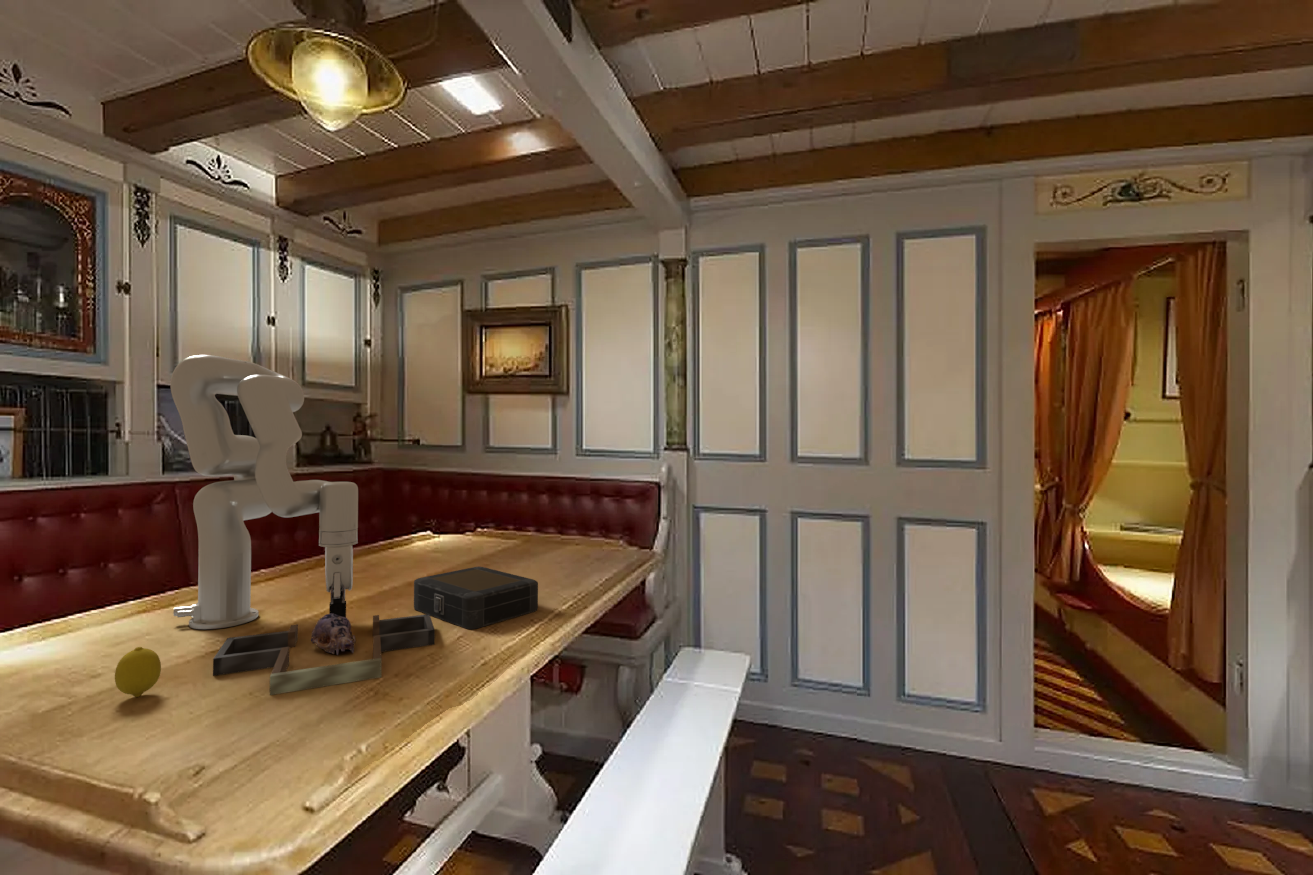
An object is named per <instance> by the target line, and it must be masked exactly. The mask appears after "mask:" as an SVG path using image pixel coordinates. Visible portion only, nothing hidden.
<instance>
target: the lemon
mask: <svg viewBox="0 0 1313 875" xmlns="http://www.w3.org/2000/svg"><path fill="white" fill-rule="evenodd" d="M161 670H162V664H161V659H160V657H159V655H158V654H157V653H156V652H155V650H152V649H150V648H145V647H142V646H137V647H135V648H134V649H132V650H130V651H129V652H127V653H125V654H123V656H122V657H121V658H120V659H119V661H118V663H117V665H116V667H115V671H114V682H115V686H116V688H117V689H118V690H119V691H120V692H121V693H123V694H126V695H131V696H133V697H135V698H137V697H138V698H139V697H141V696H142V695H143V694H144V693H145V692H147V691H148V690H150V689H151V688H152V687H154V686H155V685H156V683H158V681H159V679H160V676H161Z"/></svg>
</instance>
